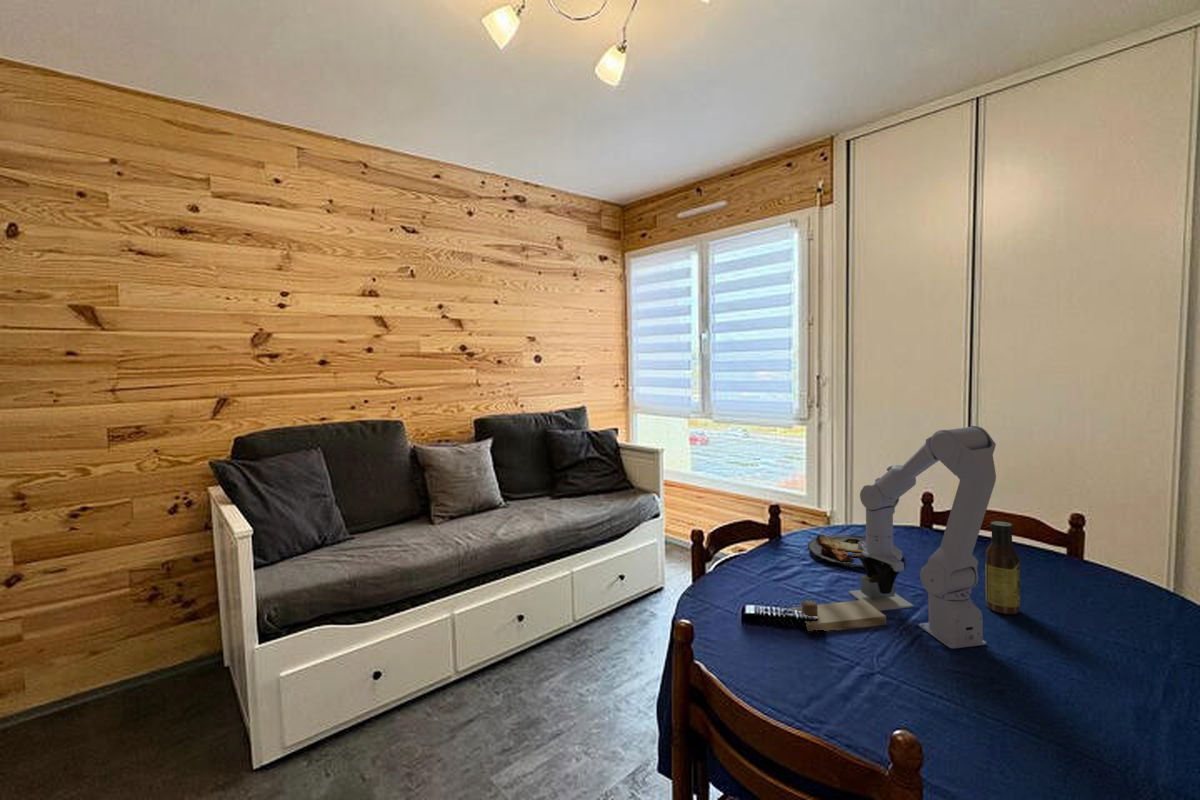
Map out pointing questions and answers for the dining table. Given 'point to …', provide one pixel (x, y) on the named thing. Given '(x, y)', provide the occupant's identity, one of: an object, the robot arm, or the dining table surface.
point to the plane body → (841, 615)
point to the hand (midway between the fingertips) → (879, 588)
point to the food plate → (840, 548)
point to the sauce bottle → (1002, 570)
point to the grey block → (874, 587)
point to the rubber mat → (883, 601)
